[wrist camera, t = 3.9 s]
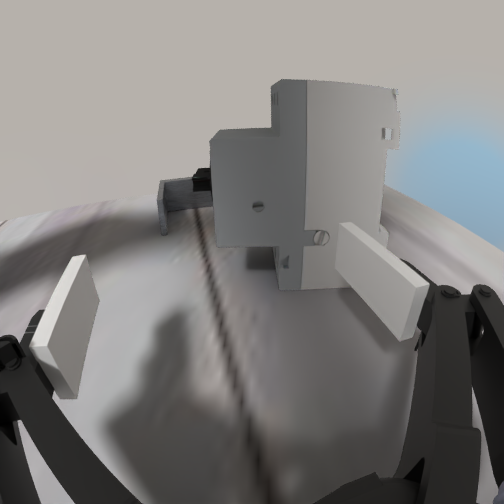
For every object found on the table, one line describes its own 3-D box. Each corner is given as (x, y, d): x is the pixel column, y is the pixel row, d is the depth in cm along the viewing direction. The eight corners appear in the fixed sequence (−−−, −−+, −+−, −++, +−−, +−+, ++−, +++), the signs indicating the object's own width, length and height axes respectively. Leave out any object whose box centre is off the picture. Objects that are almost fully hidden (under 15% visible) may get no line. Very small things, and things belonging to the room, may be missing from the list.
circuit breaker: (208, 248, 31) (197, 88, 24) (353, 244, 31) (363, 90, 24) (198, 292, 24) (179, 84, 17) (379, 285, 24) (401, 89, 17)
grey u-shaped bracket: (161, 235, 34) (156, 200, 32) (163, 209, 42) (160, 180, 40) (342, 214, 38) (344, 183, 36) (312, 194, 46) (313, 167, 44)
